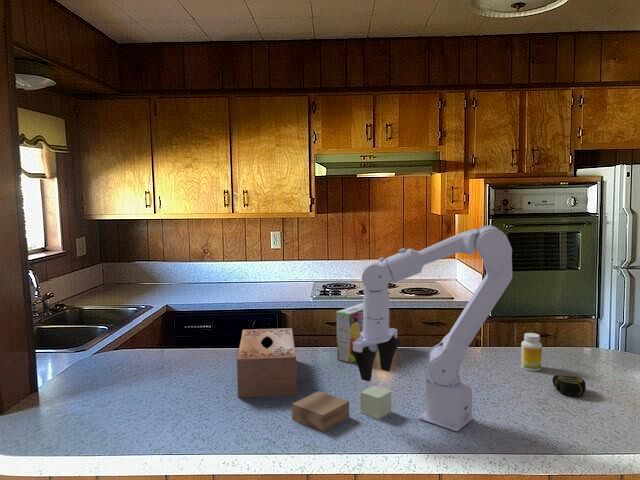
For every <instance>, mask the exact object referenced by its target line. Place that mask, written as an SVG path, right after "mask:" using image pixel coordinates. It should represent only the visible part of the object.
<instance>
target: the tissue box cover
mask: <svg viewBox="0 0 640 480" xmlns="http://www.w3.org/2000/svg"><path fill="white" fill-rule="evenodd" d="M295 346H296V345H295V340H294V333H293V328H292V327H286V328H282V327H281V328H255V329H242V331H241V337H240V342H239V346H238V347H239V348H238V352H237V356H236V370H237V371H236V374H237V375H236V377H237V398H238V397H245V398H259V397H258V396H266V397H275V396H274V395H286V396H297V395H298V394H297V390H298V389H297V355H296V347H295ZM296 394H297V395H296ZM255 396H256V397H255Z"/></svg>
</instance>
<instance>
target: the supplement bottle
mask: <svg viewBox="0 0 640 480" xmlns="http://www.w3.org/2000/svg"><path fill="white" fill-rule="evenodd" d="M523 335H524V336H523V341H521V344H520V364H519V365H520V368H521V369H522V370H525V371H531V372H536V371H540V370H541V368H542V353H543V345H542V343H541V342H540V340H541V335H540V334H539V333H534V332H525V333H524V334H523Z"/></svg>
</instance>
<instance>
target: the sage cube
mask: <svg viewBox="0 0 640 480" xmlns="http://www.w3.org/2000/svg"><path fill="white" fill-rule="evenodd" d="M362 413H363V415H365V414H366V416H367V415H369V416H368V417H370V416H372V417H371V418H373V417H374V418H373V419H376V420H380V419H382V418H384V417H385V416H387V415H388V413H389V414H390V413H392V390H389V389H387V388H386V389H385V388H382V387H379V386H375V385H372V386H370V387H368V388H366V389H364V390H362V391H360V414H362ZM383 416H384V417H383Z"/></svg>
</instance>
